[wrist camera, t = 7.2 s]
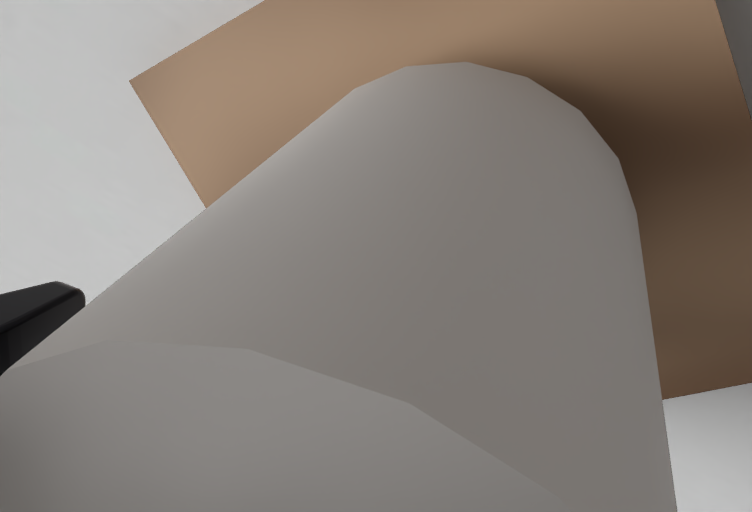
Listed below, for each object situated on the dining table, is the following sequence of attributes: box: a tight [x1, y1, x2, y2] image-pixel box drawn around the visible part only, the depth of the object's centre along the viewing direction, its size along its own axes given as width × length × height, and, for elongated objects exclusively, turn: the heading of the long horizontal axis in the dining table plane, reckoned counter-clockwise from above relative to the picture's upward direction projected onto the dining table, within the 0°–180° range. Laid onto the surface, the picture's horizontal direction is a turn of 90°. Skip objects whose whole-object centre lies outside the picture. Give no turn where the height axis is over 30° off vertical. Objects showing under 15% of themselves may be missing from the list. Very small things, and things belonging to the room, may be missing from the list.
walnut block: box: [129, 0, 752, 400], centre depth 16 cm, size 12×12×2 cm
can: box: [0, 62, 677, 512], centre depth 10 cm, size 8×8×12 cm
